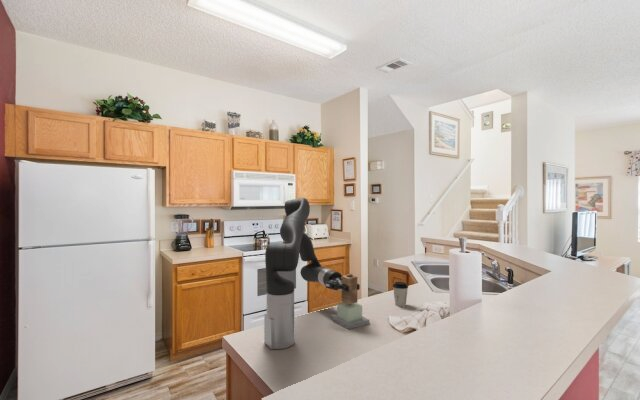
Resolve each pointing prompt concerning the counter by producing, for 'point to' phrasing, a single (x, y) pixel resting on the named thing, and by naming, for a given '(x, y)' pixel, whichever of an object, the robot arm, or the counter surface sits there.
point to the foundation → (349, 315)
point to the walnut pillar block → (350, 289)
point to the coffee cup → (400, 293)
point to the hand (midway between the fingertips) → (353, 288)
